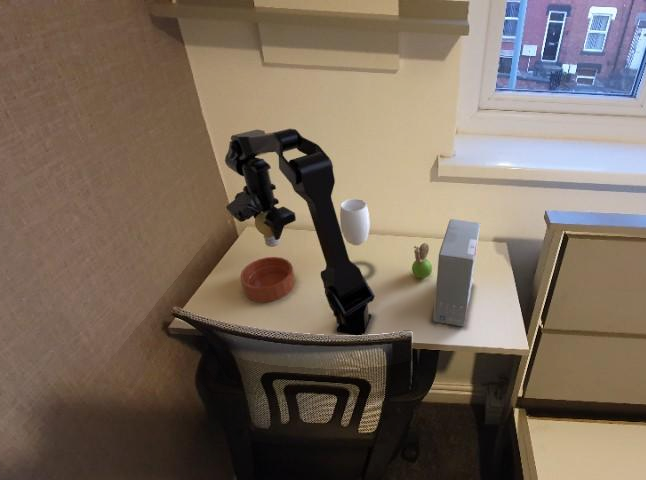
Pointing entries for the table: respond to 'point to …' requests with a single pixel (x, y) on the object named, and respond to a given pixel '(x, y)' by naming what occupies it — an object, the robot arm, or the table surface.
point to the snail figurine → (421, 262)
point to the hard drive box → (456, 272)
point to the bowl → (268, 279)
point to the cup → (354, 221)
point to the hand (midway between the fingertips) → (270, 234)
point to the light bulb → (265, 230)
